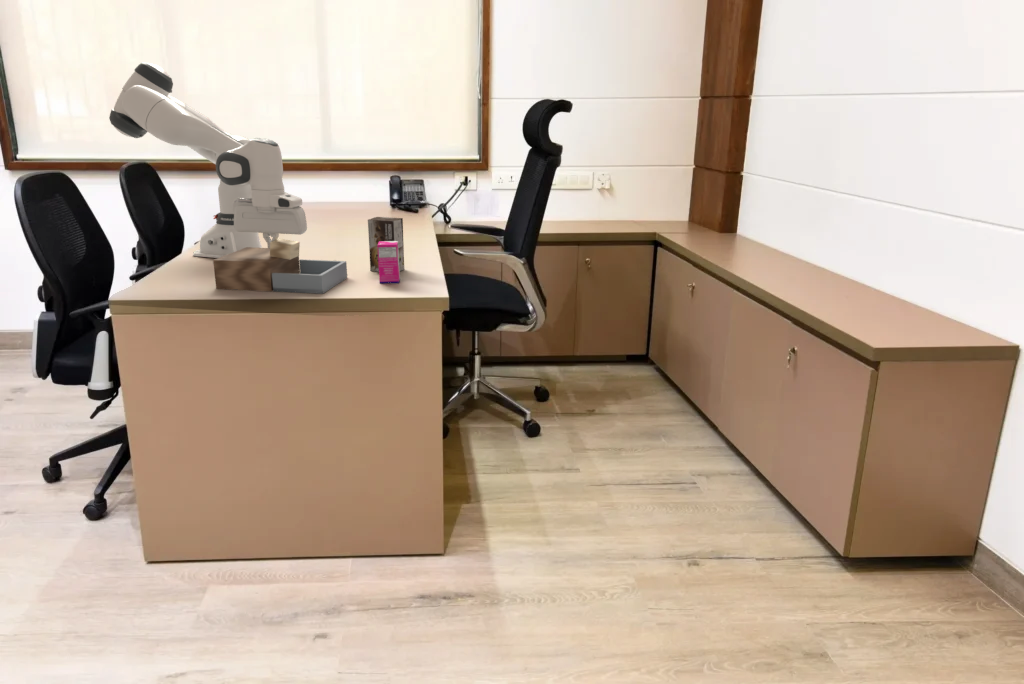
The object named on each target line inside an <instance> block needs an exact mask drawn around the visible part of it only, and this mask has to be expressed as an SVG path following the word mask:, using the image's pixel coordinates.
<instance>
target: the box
mask: <svg viewBox="0 0 1024 684" xmlns="http://www.w3.org/2000/svg"><path fill="white" fill-rule="evenodd" d="M347 264H348V263H347V261H346V260H323V259H300V258H299V265H300V274H292V273H272V280H273V291H272V292H280V293H300V294H301V293H302V294H318V295H319V294H325V293H326V292H327V291H330V290H331V289H332V288H334V287H335V286H337V285H339V284H340V283H342V282H344V281H345V280H346V279H347V278H348V269H347V267H348V266H347Z"/></svg>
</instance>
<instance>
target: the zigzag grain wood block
mask: <svg viewBox="0 0 1024 684" xmlns="http://www.w3.org/2000/svg"><path fill="white" fill-rule="evenodd" d="M299 260H300V255H299V256H297V257H295V258H293V259H291V260H289V259H283V258H277V257H271V256H270V249H268V247H262V248H254V247H246V248H243V249H241V250H238V251H236V252H233V253H230V254H228V255H225V256H223V257H220V258H215V259H213V260H212V261H213V262H212V263H213V271H214V281H215V288H216V290H217V289H218V290H233V289H238V290H239V291H257V292H260V291H262V292H274V291H273V280H272V273H292V274H300V262H299Z"/></svg>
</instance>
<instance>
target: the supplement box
mask: <svg viewBox="0 0 1024 684" xmlns="http://www.w3.org/2000/svg"><path fill="white" fill-rule="evenodd" d="M377 249H378V265H379V271H378V278H379V279H378V281H379V282H378V283H379V284H399V283H401V281H400V280H401V273H400V272H401V271H400V269H399V250H398V241H379V243H378V245H377Z"/></svg>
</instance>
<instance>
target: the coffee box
mask: <svg viewBox="0 0 1024 684" xmlns="http://www.w3.org/2000/svg"><path fill="white" fill-rule="evenodd" d="M403 221H404V220H403V217H389V216H388V217H387V216H375V217H372V218H369V219H367V230H368V231H367V232H368V248H369V249H368V251H369V267H370V268H369V269H370V272H379V265H378V249H377V245H378V243H379V241H398V250H399V269H400V272H401V271H404V270H405V253H404V252H405V247H404V245H405V244H404V225H403V224H404V222H403Z"/></svg>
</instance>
